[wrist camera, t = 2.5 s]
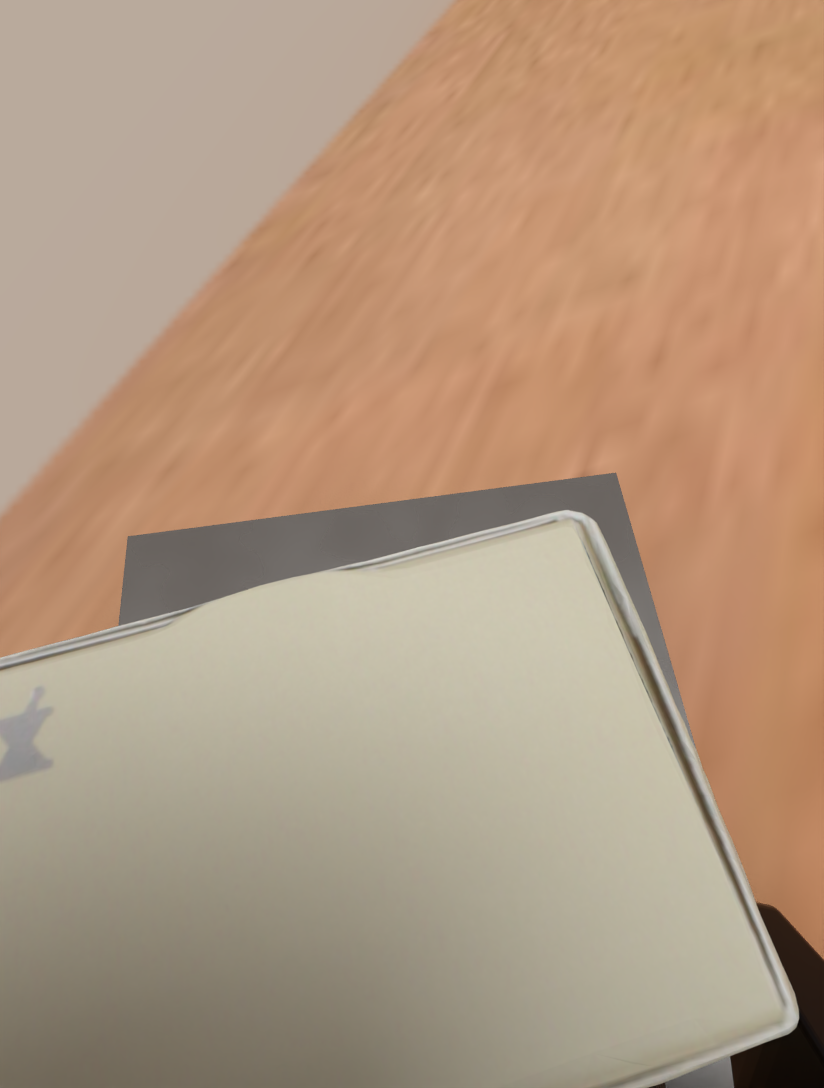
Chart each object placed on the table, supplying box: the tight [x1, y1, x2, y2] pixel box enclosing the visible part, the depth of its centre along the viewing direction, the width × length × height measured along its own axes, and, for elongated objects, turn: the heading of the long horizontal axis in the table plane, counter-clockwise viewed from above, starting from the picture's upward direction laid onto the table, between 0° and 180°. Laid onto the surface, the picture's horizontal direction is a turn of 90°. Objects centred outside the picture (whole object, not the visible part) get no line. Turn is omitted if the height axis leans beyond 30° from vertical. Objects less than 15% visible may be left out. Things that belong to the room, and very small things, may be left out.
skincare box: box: [0, 510, 799, 1088], centre depth 10 cm, size 6×4×12 cm
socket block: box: [119, 473, 734, 1088], centre depth 14 cm, size 16×12×4 cm
